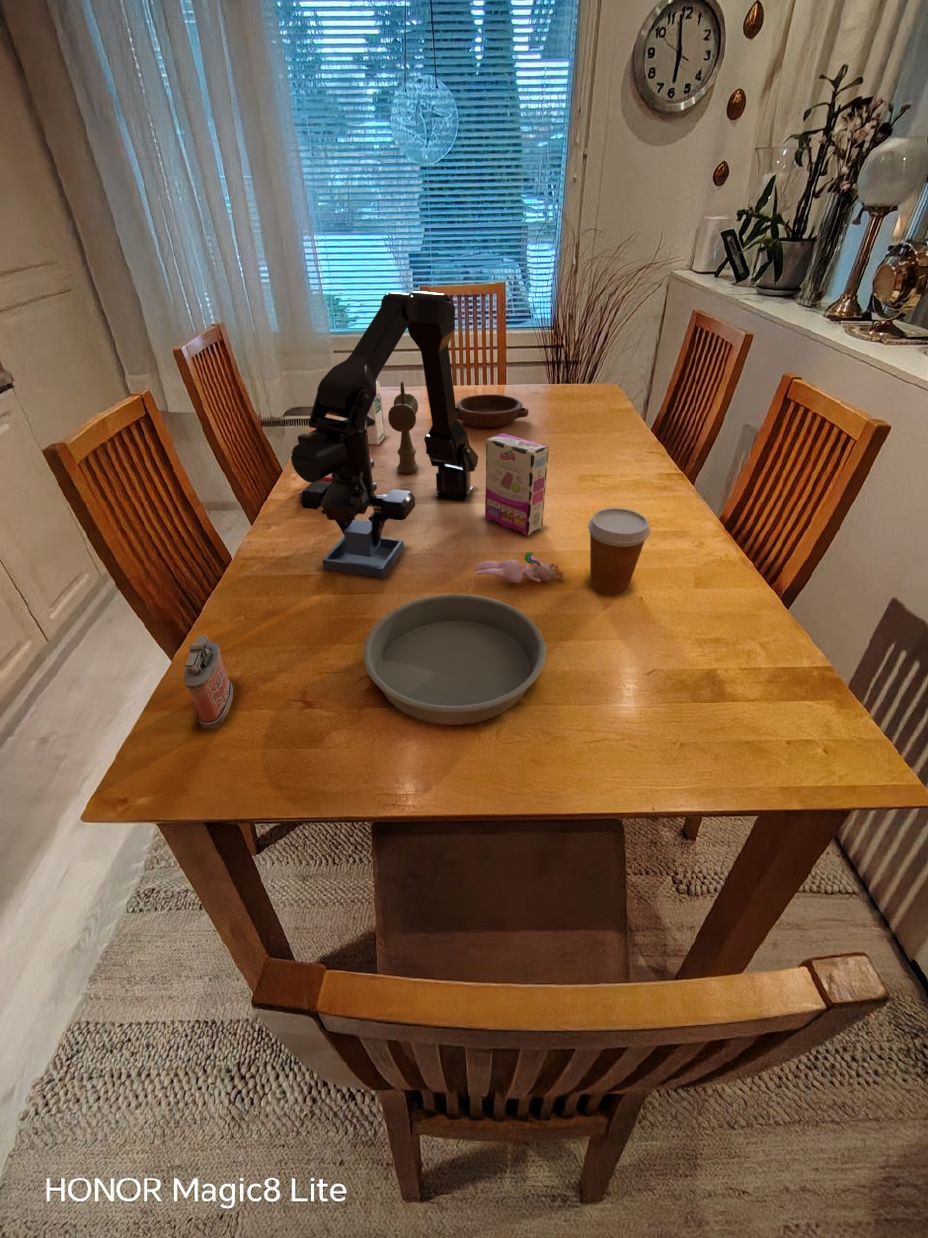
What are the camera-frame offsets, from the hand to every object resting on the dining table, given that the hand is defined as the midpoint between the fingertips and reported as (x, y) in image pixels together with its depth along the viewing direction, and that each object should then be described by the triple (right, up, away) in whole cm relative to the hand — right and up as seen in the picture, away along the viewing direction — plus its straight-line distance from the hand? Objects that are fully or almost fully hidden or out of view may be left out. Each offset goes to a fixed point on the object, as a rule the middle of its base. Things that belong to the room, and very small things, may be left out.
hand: (363, 543), depth 104 cm
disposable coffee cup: (+42, -8, -5) cm, 43 cm away
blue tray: (0, -3, +2) cm, 3 cm away
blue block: (0, -1, +1) cm, 1 cm away
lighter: (-14, -25, -27) cm, 39 cm away
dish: (+25, +42, +60) cm, 77 cm away
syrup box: (-6, +33, +49) cm, 59 cm away
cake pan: (+17, -20, -22) cm, 34 cm away
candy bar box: (+28, +5, +12) cm, 31 cm away
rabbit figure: (+27, -7, -4) cm, 28 cm away
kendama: (+5, +21, +33) cm, 39 cm away
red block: (-10, +14, +23) cm, 29 cm away
